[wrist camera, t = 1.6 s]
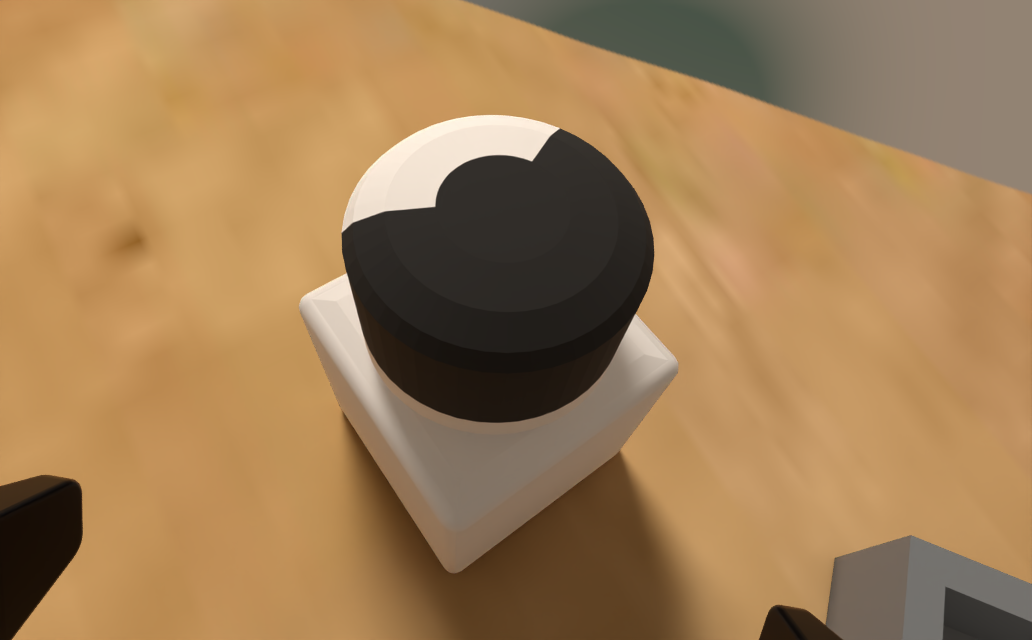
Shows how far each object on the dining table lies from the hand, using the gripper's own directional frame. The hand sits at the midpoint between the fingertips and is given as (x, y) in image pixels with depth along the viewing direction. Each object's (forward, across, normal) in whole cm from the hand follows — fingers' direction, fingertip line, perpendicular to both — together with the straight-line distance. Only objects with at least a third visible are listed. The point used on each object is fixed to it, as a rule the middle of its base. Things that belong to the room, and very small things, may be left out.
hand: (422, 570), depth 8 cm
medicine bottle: (+14, 0, +4) cm, 14 cm away
